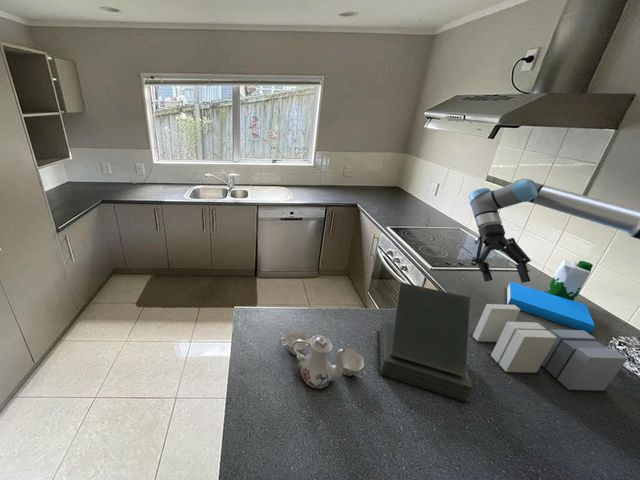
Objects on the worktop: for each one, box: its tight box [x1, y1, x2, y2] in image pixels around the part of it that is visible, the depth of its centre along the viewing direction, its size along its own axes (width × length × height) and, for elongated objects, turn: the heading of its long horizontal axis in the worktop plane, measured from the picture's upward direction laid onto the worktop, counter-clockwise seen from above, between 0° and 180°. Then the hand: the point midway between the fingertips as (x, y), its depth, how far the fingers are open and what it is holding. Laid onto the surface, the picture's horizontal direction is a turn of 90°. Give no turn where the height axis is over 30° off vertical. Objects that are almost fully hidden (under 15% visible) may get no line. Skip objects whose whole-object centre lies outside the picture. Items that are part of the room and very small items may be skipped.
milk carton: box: [547, 259, 594, 301], centre depth 124 cm, size 9×9×20 cm
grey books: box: [541, 328, 629, 392], centre depth 88 cm, size 12×11×14 cm
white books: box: [490, 321, 557, 374], centre depth 91 cm, size 6×10×15 cm, turn 90°
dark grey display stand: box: [378, 281, 473, 402], centre depth 88 cm, size 23×20×25 cm
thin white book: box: [472, 303, 522, 343], centre depth 101 cm, size 2×10×15 cm, turn 90°
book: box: [506, 281, 595, 335], centre depth 120 cm, size 17×4×25 cm
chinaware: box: [279, 329, 367, 390], centre depth 86 cm, size 28×17×17 cm, turn 70°
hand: (507, 281), depth 100 cm, fingers open, 13 cm apart
